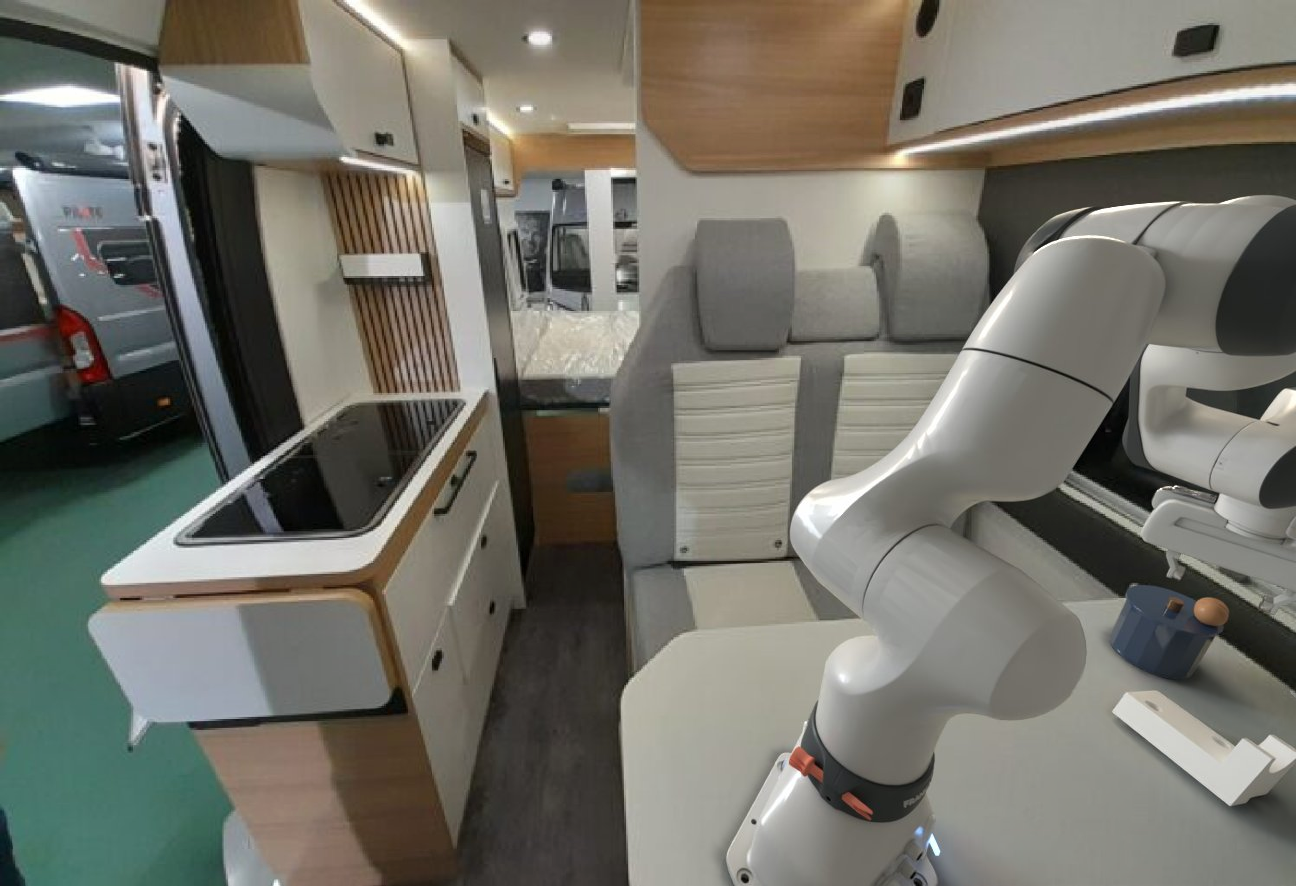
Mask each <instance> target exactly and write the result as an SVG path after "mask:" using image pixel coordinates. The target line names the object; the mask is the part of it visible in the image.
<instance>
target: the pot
mask: <svg viewBox="0 0 1296 886" xmlns="http://www.w3.org/2000/svg"><path fill="white" fill-rule="evenodd" d="M1215 637H1216V636H1214V637H1196V636H1191V635H1186V634H1183V633H1179V632H1176V631H1173V630H1170V629H1168V628H1165V627H1163V626H1161V625H1159V624H1157V623H1155V622H1153V621H1151V620H1149V619H1147V618H1146V617H1144V616H1143V615H1141V614H1140V613H1138V612H1137V611H1136V610H1135V609H1134V608H1133V607H1132V606H1131V605H1130V604H1129V603H1128V601H1127V599H1126V598H1125V601H1124V603H1123V606H1122V607H1121V610H1120V612H1119V614H1118V616H1117V618H1116V621H1115V623H1114V625H1113V626H1112V629H1111V632H1110V634H1109V636H1108V641H1109V644H1110V646H1111V648H1112V649H1113V650H1114V651H1115V653H1117V654H1118V656H1120V657H1121V658H1123V660H1125V661H1126V662H1128V663H1130V664H1131V665H1133V666H1135V667H1137V668H1138V669H1141V670H1142V671H1145V672H1147V673H1149V674H1152V675H1155V676H1158V677H1161V678H1165V679H1170V680H1186V679H1189V678H1190V677H1192V676H1193V674H1195V673H1196V670H1197V669H1198V667H1199V665H1200V664H1201V662H1202V660H1203V659H1204V658H1205V657H1204V656H1205V655H1206V653H1207V652H1208V650H1209V648H1210V646H1211V645H1212V643H1213V641H1214V639H1215Z"/></svg>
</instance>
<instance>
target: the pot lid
mask: <svg viewBox="0 0 1296 886" xmlns="http://www.w3.org/2000/svg"><path fill="white" fill-rule="evenodd" d="M1126 599H1127V601H1128V603H1129V604H1130V605H1131V606H1132V607H1133V608H1134V609H1135V610H1136V611H1137V612H1138V613H1140V614H1141V615H1143V616H1144V617H1146V618H1147V619H1149V620H1151V621H1153V622H1155V623H1157V624H1159V625H1161V626H1163V627H1165V628H1168V629H1170V630H1173V631H1176V632H1179V633H1183V634H1186V635H1191V636H1196V637H1214V636H1215V637H1217V636H1219V635H1221V633H1222V632H1223V630H1224V624H1222V625H1219V626H1210V625H1206V624H1204V623H1202V622H1200V621H1199V620H1198V619H1197V618H1196V616H1195V614H1194V607H1195V604H1196V602H1197V601H1198V600H1196V599H1194V598H1192V597H1189V596H1188V595H1185V594H1182V593H1180V592H1177V591H1175V590H1171V589H1168V588H1166V587H1165V588H1164V587H1160V586H1156V585H1149V584H1148V585H1147V584H1135V585H1132V586H1130V587H1128V589H1126V592H1125V600H1126Z"/></svg>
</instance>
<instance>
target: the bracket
mask: <svg viewBox="0 0 1296 886" xmlns="http://www.w3.org/2000/svg"><path fill="white" fill-rule="evenodd" d="M1111 713H1113V714H1114V715H1115V716H1116V717H1117V718H1118V719H1120V720H1121V721H1123V722H1124V723H1125V724H1126V725H1127V726H1129V727H1130V728H1131V729H1133V730H1134V731H1135V732H1136V733H1137V734H1139V735H1140V736H1141V737H1143V738H1144V739H1145V740H1146V741H1148V742H1149V743H1150V744H1151V745H1153V746H1154V747H1155V748H1156V749H1157V750H1159V751H1160V752H1161V753H1163V754H1164V755H1165V756H1166V757H1168V758H1169V759H1170V760H1171V761H1173V762H1174V763H1175V764H1176V765H1177V766H1179V767H1180V768H1182V769H1183V770H1184V771H1185V772H1186V773H1187V774H1189V775H1190V776H1191V777H1192V778H1194V779H1195V780H1197V781H1198V782H1199V783H1200V784H1201V785H1202V786H1204V787H1205V788H1207V790H1209V791H1210V792H1212V793H1213V794H1214V795H1215V796H1216V797H1218V799H1220V800H1221V801H1223V802H1224V803H1225V804H1226V805H1227V806H1229V807H1233V806H1238V805H1242V804H1247V803H1248V801H1250V799H1251V798H1254V797H1255V798H1256V797H1259V796H1265V795H1268V793H1270V791H1271V790H1272V789H1273V788H1274V787H1275V786H1276V785H1277V783H1278V782H1279V781H1280V780H1281V779H1282V778H1283V777H1284V776H1285V775H1286V774H1287V773H1288V771H1289V770H1290V769H1291V768H1292V767H1293V766H1294V765H1295V764H1296V748H1295V747H1293V746H1292V745H1290V744H1289V743H1287V742H1286V741H1284V740H1283V739H1281V738H1280V737H1279V736H1276V734H1269V735H1268V736H1267V737H1266V738H1265V739H1264V740H1262V741H1261V742H1260V744H1256V743H1255V742H1253V741H1252V740H1250V738H1248V737H1242V738H1241V739H1240V740H1239V741H1238V742H1237V744H1236V745H1234V744H1232V742H1230V741H1228V740H1227V739H1226V738H1224V737H1223V736H1222V735H1220V734H1219V733H1217V732H1216V731H1214V730H1213V729H1212V728H1210V727H1209V726H1207V725H1206V724H1205V723H1203V722H1202V721H1200V720H1199V719H1198V718H1197V717H1196V716H1193V715H1192V714H1191V713H1189V711H1187V710H1186V709H1184V708H1182V707H1181V706H1180V705H1179V704H1177V703H1176V702H1175V701H1172V700H1171V699H1170V698H1168V697H1166V696H1165V695H1164V694H1162V692H1160V691H1159V690H1155V689H1154V690H1142V691H1141V690H1140V691H1138V690H1137V691H1125V693H1124V694H1123V696H1122V697H1121V699H1120V700H1119V701H1118V703H1116V705H1115V706H1114V708H1113V710H1112V711H1111Z"/></svg>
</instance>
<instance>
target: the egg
mask: <svg viewBox="0 0 1296 886" xmlns="http://www.w3.org/2000/svg"><path fill="white" fill-rule="evenodd" d="M1196 601H1197V602H1196V604H1195V607H1194V614H1195V616H1196V618H1197V619H1198V620H1199V621H1200V622H1202V623H1204V624H1206V625H1210V626H1219V625H1222V624H1223V625H1224V624H1225V623H1227V621H1228V620H1229V615H1230V610H1229V608H1228V606H1227V604H1225V603H1224V602H1223V601H1222V600H1220V599H1218V598H1215V597H1208V596H1207V597H1201V598H1200V599H1197V600H1196Z"/></svg>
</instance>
